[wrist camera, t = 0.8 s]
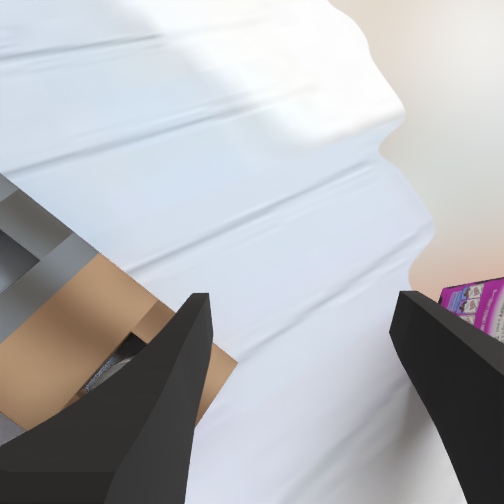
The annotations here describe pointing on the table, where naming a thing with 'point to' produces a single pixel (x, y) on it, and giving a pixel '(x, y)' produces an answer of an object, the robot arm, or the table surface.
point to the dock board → (70, 317)
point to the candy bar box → (478, 305)
